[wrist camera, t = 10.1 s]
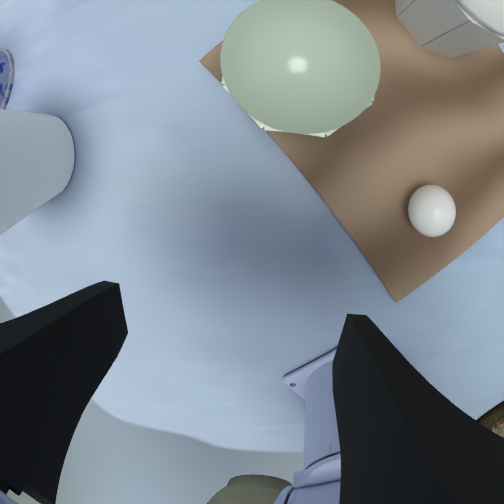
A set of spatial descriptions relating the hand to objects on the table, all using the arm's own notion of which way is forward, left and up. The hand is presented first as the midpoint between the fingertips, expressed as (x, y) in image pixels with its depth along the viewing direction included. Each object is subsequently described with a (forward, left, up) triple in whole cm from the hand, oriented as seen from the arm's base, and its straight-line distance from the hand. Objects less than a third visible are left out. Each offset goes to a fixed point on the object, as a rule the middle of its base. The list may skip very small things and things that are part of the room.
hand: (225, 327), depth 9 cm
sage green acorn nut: (+5, -7, -10) cm, 13 cm away
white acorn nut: (+4, -18, -10) cm, 21 cm away
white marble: (-5, -9, -10) cm, 14 cm away
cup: (+15, +9, -11) cm, 20 cm away
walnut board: (0, -13, -10) cm, 17 cm away
